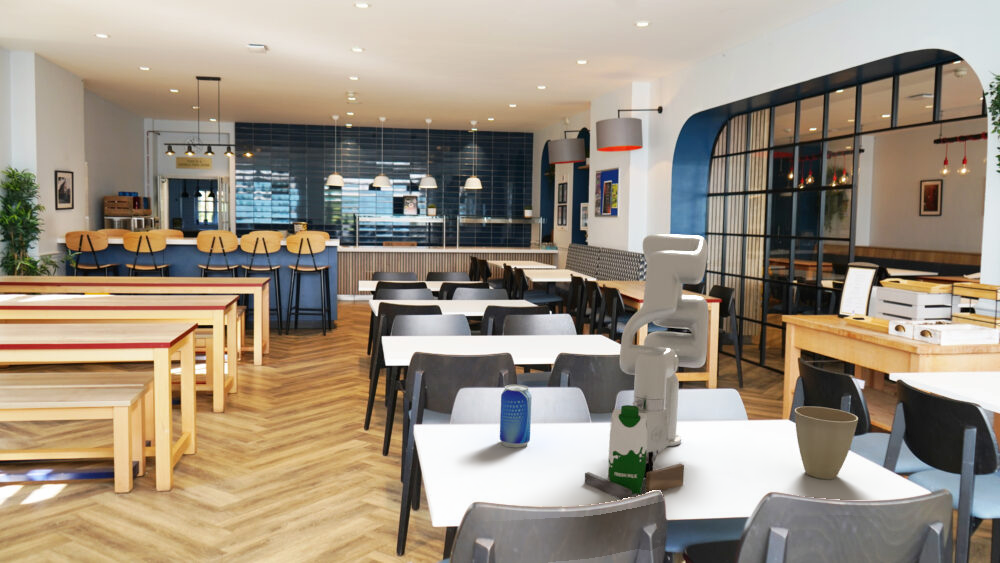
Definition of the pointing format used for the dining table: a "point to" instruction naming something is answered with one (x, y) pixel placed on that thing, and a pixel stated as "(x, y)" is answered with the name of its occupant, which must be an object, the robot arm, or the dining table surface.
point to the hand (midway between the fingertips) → (645, 476)
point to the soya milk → (628, 448)
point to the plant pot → (824, 439)
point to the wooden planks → (654, 481)
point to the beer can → (515, 416)
